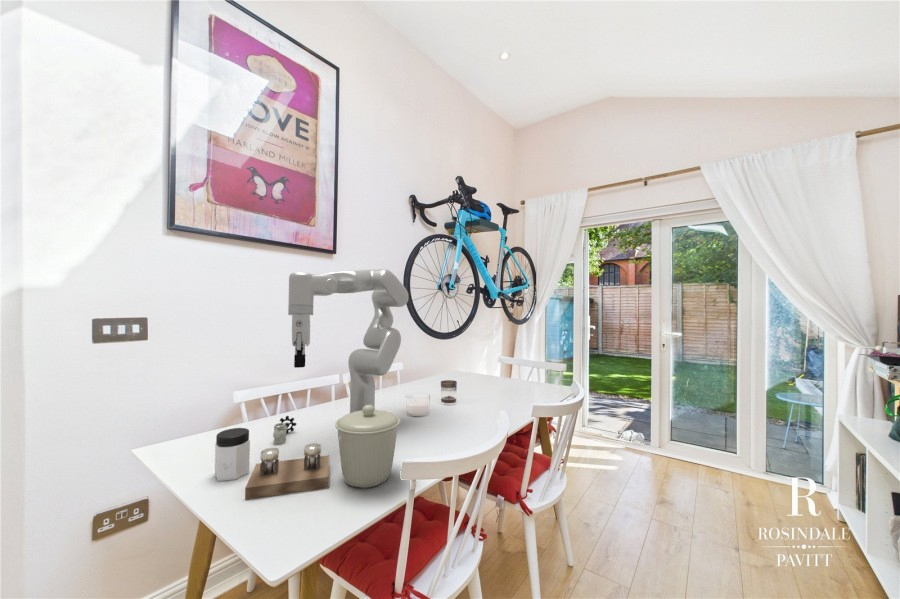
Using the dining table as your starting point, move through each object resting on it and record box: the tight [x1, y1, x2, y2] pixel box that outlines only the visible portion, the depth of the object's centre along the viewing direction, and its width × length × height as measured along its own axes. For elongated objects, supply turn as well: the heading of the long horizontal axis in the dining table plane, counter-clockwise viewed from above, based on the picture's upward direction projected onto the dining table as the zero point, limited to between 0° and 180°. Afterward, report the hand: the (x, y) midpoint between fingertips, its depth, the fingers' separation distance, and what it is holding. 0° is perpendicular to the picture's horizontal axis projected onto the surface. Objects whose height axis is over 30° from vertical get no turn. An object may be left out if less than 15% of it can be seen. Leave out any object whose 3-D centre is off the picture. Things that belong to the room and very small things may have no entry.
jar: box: [214, 427, 251, 482], centre depth 102 cm, size 9×8×12 cm
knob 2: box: [303, 442, 322, 469], centre depth 101 cm, size 4×4×6 cm
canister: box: [334, 405, 401, 489], centre depth 101 cm, size 18×18×21 cm
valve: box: [272, 415, 297, 446], centre depth 129 cm, size 7×7×12 cm
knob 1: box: [260, 447, 280, 474], centre depth 97 cm, size 4×4×6 cm
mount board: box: [244, 453, 330, 501], centre depth 99 cm, size 20×14×6 cm
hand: (299, 366), depth 115 cm, fingers closed
